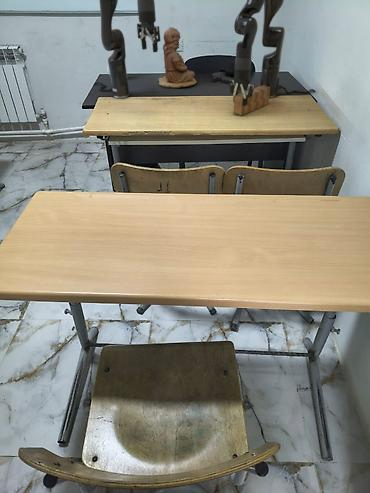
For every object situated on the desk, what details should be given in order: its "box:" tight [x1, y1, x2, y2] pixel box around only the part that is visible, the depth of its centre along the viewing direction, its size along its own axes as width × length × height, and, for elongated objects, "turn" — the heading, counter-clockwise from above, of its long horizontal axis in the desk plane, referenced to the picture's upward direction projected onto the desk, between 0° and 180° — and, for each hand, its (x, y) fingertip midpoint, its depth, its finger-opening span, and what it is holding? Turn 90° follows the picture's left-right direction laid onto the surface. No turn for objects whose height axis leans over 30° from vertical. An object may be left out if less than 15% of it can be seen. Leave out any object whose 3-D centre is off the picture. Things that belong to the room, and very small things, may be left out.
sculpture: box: [157, 27, 198, 89], centre depth 214 cm, size 27×24×30 cm
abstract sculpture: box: [211, 60, 235, 84], centre depth 224 cm, size 25×9×20 cm
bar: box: [232, 85, 270, 116], centre depth 182 cm, size 24×5×8 cm, turn 136°
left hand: (149, 50), depth 167 cm, fingers open, 8 cm apart
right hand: (240, 104), depth 176 cm, fingers open, 5 cm apart
